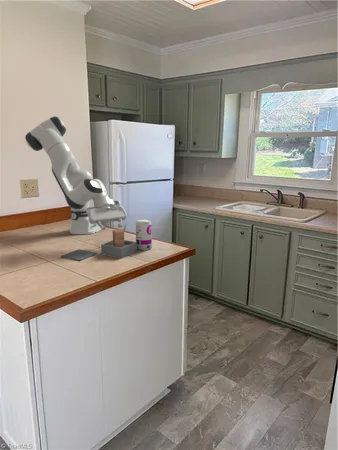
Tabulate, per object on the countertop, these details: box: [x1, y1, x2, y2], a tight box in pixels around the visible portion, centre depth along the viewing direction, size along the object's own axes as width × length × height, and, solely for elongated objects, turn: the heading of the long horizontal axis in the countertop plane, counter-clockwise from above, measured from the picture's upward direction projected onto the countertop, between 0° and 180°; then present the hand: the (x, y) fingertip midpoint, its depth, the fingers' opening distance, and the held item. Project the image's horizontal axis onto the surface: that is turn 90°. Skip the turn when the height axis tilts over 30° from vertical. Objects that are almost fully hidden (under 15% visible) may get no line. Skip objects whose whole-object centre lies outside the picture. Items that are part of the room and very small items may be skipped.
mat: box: [60, 248, 98, 262], centre depth 163 cm, size 12×12×1 cm
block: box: [111, 228, 125, 247], centre depth 166 cm, size 4×4×8 cm
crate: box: [100, 239, 138, 259], centre depth 167 cm, size 13×13×6 cm
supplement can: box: [135, 218, 153, 251], centre depth 174 cm, size 8×8×15 cm
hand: (112, 228), depth 169 cm, fingers open, 8 cm apart
